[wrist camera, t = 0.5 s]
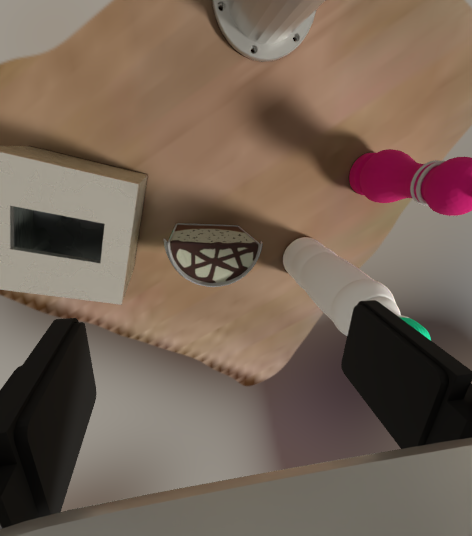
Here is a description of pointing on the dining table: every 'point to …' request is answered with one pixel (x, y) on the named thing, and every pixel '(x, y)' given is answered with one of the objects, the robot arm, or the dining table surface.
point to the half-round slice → (212, 253)
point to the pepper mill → (414, 181)
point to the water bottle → (336, 283)
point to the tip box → (67, 225)
